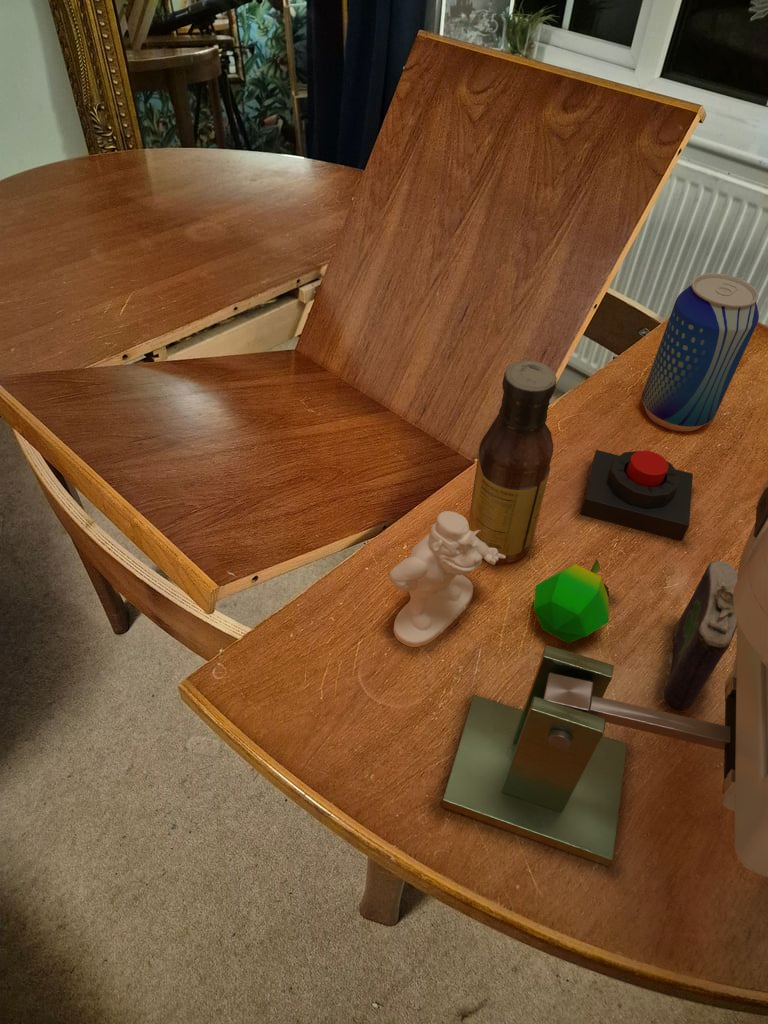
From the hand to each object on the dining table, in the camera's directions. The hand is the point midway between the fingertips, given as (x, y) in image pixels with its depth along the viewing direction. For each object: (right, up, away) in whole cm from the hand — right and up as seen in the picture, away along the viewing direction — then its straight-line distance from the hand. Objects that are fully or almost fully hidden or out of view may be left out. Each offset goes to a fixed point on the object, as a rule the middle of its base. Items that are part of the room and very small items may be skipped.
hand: (736, 745), depth 45 cm
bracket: (-10, -6, +10) cm, 16 cm away
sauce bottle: (-10, +11, +27) cm, 31 cm away
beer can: (+13, +26, +43) cm, 51 cm away
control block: (+5, +15, +32) cm, 36 cm away
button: (+5, +18, +29) cm, 34 cm away
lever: (-5, 0, +2) cm, 5 cm away
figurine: (-16, +5, +21) cm, 27 cm away
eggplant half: (+4, +1, +18) cm, 18 cm away
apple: (-5, +5, +21) cm, 22 cm away
